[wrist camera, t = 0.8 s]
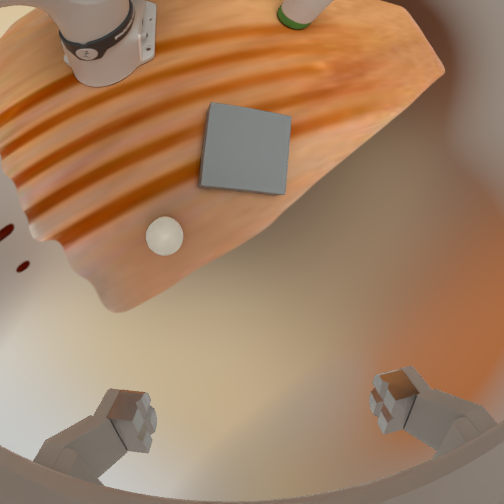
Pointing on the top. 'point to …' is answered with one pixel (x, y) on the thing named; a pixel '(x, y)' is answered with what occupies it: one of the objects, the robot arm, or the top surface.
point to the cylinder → (164, 236)
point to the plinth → (245, 150)
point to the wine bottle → (301, 12)
